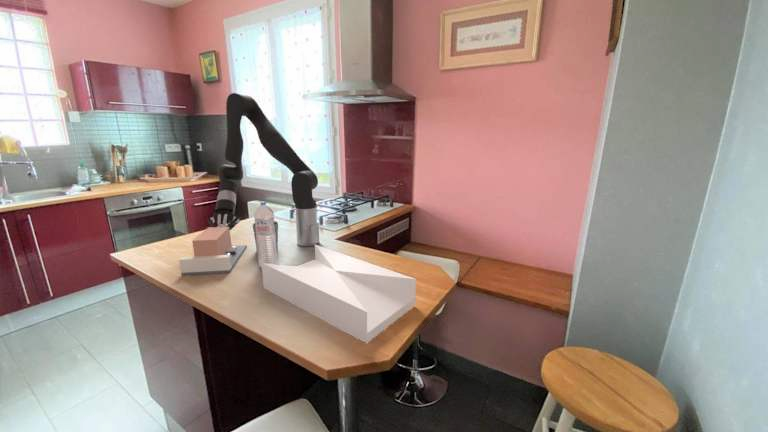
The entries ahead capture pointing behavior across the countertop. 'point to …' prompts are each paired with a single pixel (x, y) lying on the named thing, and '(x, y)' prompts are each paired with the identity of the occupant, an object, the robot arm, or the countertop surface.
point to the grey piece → (210, 263)
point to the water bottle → (265, 235)
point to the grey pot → (275, 233)
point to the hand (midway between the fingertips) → (220, 238)
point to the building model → (343, 291)
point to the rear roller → (231, 249)
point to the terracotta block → (212, 241)
